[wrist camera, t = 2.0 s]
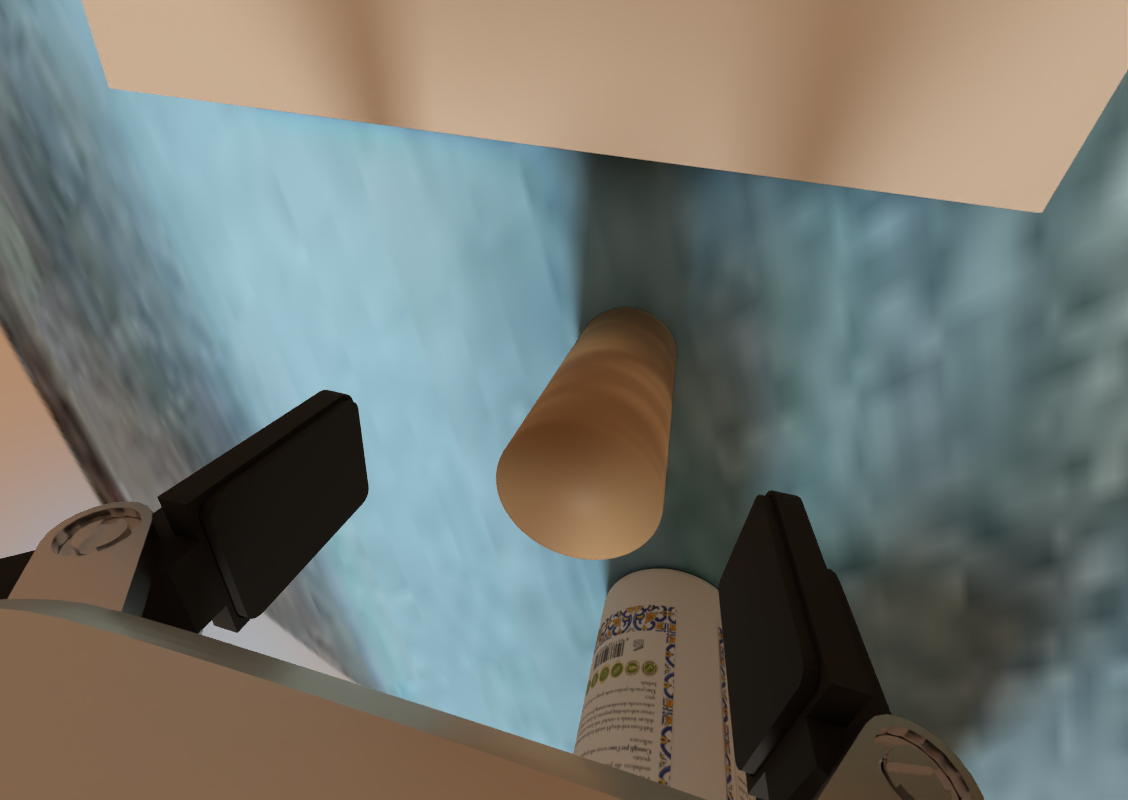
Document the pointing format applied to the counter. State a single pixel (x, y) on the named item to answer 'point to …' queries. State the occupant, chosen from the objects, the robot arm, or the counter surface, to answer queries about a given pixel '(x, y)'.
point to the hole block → (670, 78)
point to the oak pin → (596, 442)
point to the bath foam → (662, 687)
